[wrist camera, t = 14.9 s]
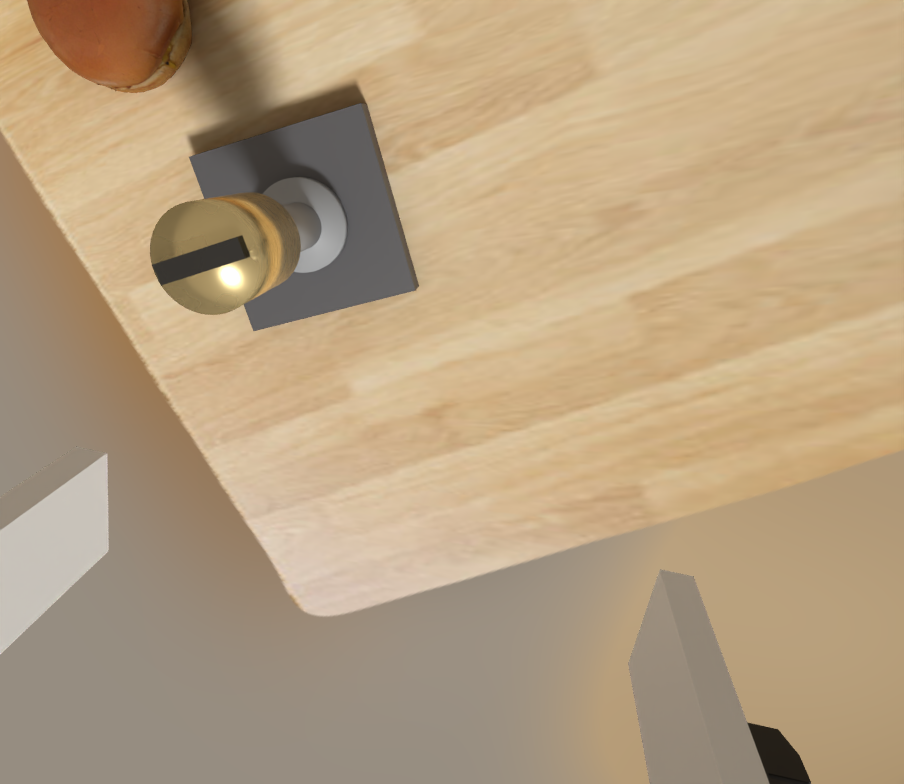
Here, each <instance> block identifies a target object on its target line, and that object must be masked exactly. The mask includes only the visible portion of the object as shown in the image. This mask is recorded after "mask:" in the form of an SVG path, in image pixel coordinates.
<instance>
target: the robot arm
mask: <svg viewBox="0 0 904 784" xmlns="http://www.w3.org/2000/svg"><path fill="white" fill-rule="evenodd" d="M107 475H108V472H107V453H105V452H100V451H95V450H90V449H85V448H81V447H75V448H73V449H72V450H70V451H69V452H67V453H66V454H64V455H63V456H61V457H60V458H58V459H57V460H55V461H54V462H52V463H51V464H49V465H48V466H46V467H45V468H43V469H42V470H40V471H39V472H37V473H36V474H34V475H32V476H31V477H29V478H28V479H26V480H25V481H24V482H22V483H20V484H19V485H18V486H16V487H14V488H13V489H11V490H10V491H8V492H7V493H5V494H4V495H2V496H1V497H0V654H1V653H2V652H3V651H4V650H5V649H6V648H7V647H8V646H9V645H10V644H12V643H13V642H14V641H15V640H16V639H17V638H18V637H19V636H20V635H21V634H22V633H23V632H24V631H25V630H26V629H27V628H28V627H29V626H30V625H31V624H32V623H34V622H35V620H37V619H38V618H39V617H40V616H41V615H42V614H43V613H44V612H45V611H46V610H47V609H48V608H49V607H50V606H51V605H52V604H53V603H54V602H55V601H57V599H59V598H60V597H61V596H62V595H63V594H64V593H65V592H66V591H67V590H68V589H69V588H70V587H71V586H72V585H73V584H74V583H75V582H76V581H77V580H79V579H80V578H81V577H82V576H83V575H84V574H85V573H86V572H87V571H88V570H89V569H90V568H91V567H92V566H93V565H94V564H95V563H96V562H97V561H98V560H99V559H101V557H103V556H104V555H105V554H106V553H107V552H108V551H109V547H108V546H109V545H108V476H107ZM628 665H629V670H630V676H631V681H632V687H633V693H634V698H635V703H636V709H637V715H638V720H639V726H640V732H641V737H642V742H643V748H644V754H645V759H646V765H647V770H648V776H649V781H650V784H811V781H810V779H809V776H808V774H807V772H806V770H805V767H804V765H803V763H802V760H801V758H800V756H799V754H798V753H797V752H796V751H795V749H794V748H793V747H792V746H791V745H790V743H789V742H788V741H787V740H786V739H785V737H784V736H783V735H782V734H781V732H780V731H779V730H778V729H774V728H769V727H765V726H760V725H755V724H751V723H747V721H746V718H745V715H744V713H743V710H742V707H741V705H740V702H739V699H738V696H737V694H736V691H735V688H734V686H733V683H732V680H731V677H730V675H729V672H728V669H727V666H726V664H725V661H724V658H723V656H722V653H721V650H720V648H719V645H718V642H717V639H716V637H715V634H714V631H713V628H712V626H711V623H710V620H709V618H708V615H707V612H706V609H705V606H704V604H703V601H702V598H701V596H700V593H699V590H698V587H697V585H696V582H695V579H694V576H689V575H684V574H679V573H674V572H670V571H665V570H660V571H659V574H658V577H657V580H656V583H655V586H654V589H653V592H652V595H651V598H650V601H649V603H648V606H647V610H646V613H645V615H644V618H643V622H642V624H641V628H640V630H639V633H638V636H637V639H636V643H635V645H634V648H633V651H632V654H631V657H630V660H629V663H628Z"/></svg>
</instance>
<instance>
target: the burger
mask: <svg viewBox="0 0 904 784" xmlns="http://www.w3.org/2000/svg"><path fill="white" fill-rule="evenodd" d="M27 2H28V5H29V8H30V11H31V15H32V18H33V20H34V22H35V24H36V26H37V28H38V31H39V33H40V34H41V36H42V37H43V38H44V40H45V41H46V42H47V44H48V45H49V47H50V48H51V49H52V51H53V52H54V54H55V55H56V56H57V57H58V58H59V59H60V60H61V61H62V62H63V63H64V64H65V65H66V66H67V67H68V68H70V69H71V70H72V71H74V72H75V73H76V74H78V75H80V76H82V77H83V78H85V79H87V80H90V81H92V82H94V83H97V84H98V85H103V86H106V87H109V88H111V89H114V90H115V91H121V92H130V93H138V92H145V91H147V90H151V89H154V88H157V87H159V86H161V85H162V84H164V83H165V82H166V81H167V80H168V79H169V78H171V77H172V76H173V74H174V73H175V72H176V70H177V69H179V67H180V65H181V64H182V62H183V61H184V59H185V56H186V54H187V53H188V50H189V48H190V45H191V42H192V27H191V20H190V12H189V6H188V2H187V0H27Z"/></svg>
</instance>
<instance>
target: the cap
mask: <svg viewBox="0 0 904 784" xmlns="http://www.w3.org/2000/svg"><path fill="white" fill-rule="evenodd" d="M300 252H301V241H300V235H299V231H298V228H297V226H296V224H295V221H294V220H293V218H292V216H291V215H290V214H289V212H288V211H287V210H286V209H285V208H284V207H283V206H282V205H281V204H280V203H278V202H277V201H276V200H274V199H272V198H270V197H268V196H266V195H263V194H260V193H254V192H245V193H238V194H232V195H226V196H220V197H214V198H208V199H202V200H196V201H190V202H185V203H182V204H179V205H177V206H174V207H173V208H171V209H170V210H168V211H167V212H166V213H165V214H164V215H163V216H162V217H161V218H160V220H159V221H158V223H157V224H156V226H155V228H154V231H153V234H152V238H151V244H150V256H151V262H152V266H153V269H154V272H155V275H156V277H157V279H158V281H159V283H160V284H161V286H162V287H163V289H164V290H165V291H166V292H167V293H168V295H169V296H171V297H172V298H173V299H174V300H175V301H176V302H178V303H179V304H180V305H182V306H184V307H185V308H187V309H189V310H192V311H194V312H197V313H201V314H208V315H217V314H223V313H227V312H230V311H232V310H234V309H236V308H238V307H240V306H241V305H243V304H245V303H247V302H249V301H251V300H252V299H254V298H256V297H258V296H260V295H261V294H263V293H265V292H267V291H269V290H270V289H272V288H274V287H276V286H278V285H279V284H281V283H283V282H284V281H285V280H287V279H288V278H289V277H290V276H291V274H292V273H293V272H294V270H295V268H296V266H297V264H298V261H299V258H300Z"/></svg>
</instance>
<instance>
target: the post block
mask: <svg viewBox="0 0 904 784" xmlns="http://www.w3.org/2000/svg"><path fill="white" fill-rule="evenodd" d="M189 158H190V161H191V164H192V166H193V169H194V172H195V174H196V177H197V180H198V183H199V185H200V188H201V191H202V193H203V196H204V199H208V198H214V197H220V196H226V195H232V194H238V193H245V192H254V193H260V194H263V195H266V196H268V197H270V198H272V199H274V200H276V201H277V202H278V203H280V204H281V205H282V206H283V207H284V208H285V209H286V210H287V211H288V212H289V214H290V215H291V216H292V218H293V220H294V221H295V224H296V226H297V228H298V231H299V235H300V241H301V252H300V258H299V261H298V264H297V266H296V268H295V270H294V272H293V273H292V274H291V276H290V277H289V278H288V279H287V280H285V281H284V282H283V283H281V284H279V285H278V286H276V287H274V288H272V289H270V290H269V291H267V292H265V293H263V294H261V295H260V296H258V297H256V298H254V299H252V300H251V301H249V302H247V303H245V304H244V307H245V309H246V312H247V315H248V317H249V320H250V323H251V325H252V328H253V331H256V330H260V329H264V328H268V327H272V326H276V325H280V324H284V323H288V322H292V321H296V320H300V319H304V318H308V317H312V316H316V315H320V314H324V313H328V312H332V311H336V310H339V309H343V308H347V307H351V306H355V305H359V304H363V303H367V302H371V301H375V300H379V299H383V298H387V297H391V296H395V295H399V294H403V293H407V292H411V291H415V290H416V289H417V288H418V287H419V284H418V281H417V277H416V274H415V271H414V267H413V264H412V260H411V257H410V253H409V250H408V246H407V243H406V239H405V236H404V232H403V229H402V225H401V222H400V218H399V215H398V211H397V208H396V204H395V201H394V197H393V194H392V190H391V187H390V183H389V180H388V176H387V173H386V169H385V166H384V163H383V159H382V156H381V152H380V149H379V145H378V142H377V138H376V135H375V131H374V128H373V124H372V121H371V117H370V114H369V110H368V107H367V104H363V103H360V104H356V105H353V106H350V107H347V108H344V109H340V110H337V111H334V112H331V113H328V114H324V115H321V116H318V117H315V118H312V119H309V120H305V121H302V122H299V123H296V124H293V125H289V126H286V127H283V128H280V129H277V130H273V131H270V132H267V133H264V134H261V135H257V136H254V137H251V138H248V139H245V140H241V141H238V142H235V143H232V144H229V145H226V146H222V147H219V148H216V149H213V150H210V151H206V152H203V153H200V154H197V155H194V156H190V157H189Z"/></svg>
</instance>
